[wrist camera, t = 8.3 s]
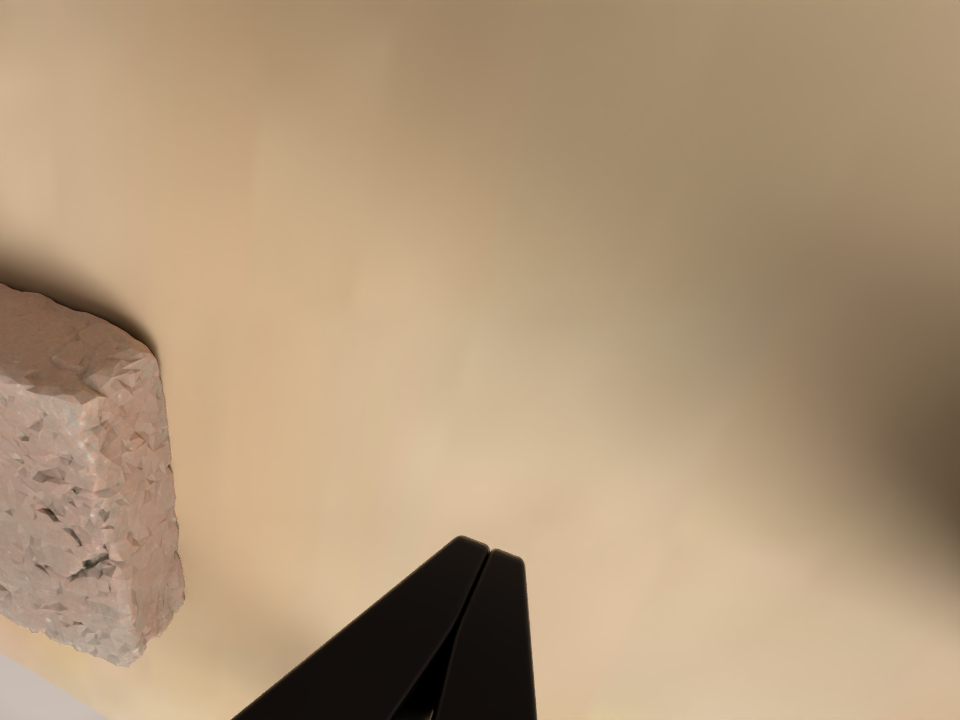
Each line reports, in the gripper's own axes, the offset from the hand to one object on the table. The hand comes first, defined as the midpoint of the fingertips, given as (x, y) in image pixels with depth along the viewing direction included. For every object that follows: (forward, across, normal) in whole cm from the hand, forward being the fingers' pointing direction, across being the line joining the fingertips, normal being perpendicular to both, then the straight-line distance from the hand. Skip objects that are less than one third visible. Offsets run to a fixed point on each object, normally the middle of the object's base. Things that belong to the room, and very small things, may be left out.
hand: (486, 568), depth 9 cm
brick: (+13, +18, +17) cm, 28 cm away
